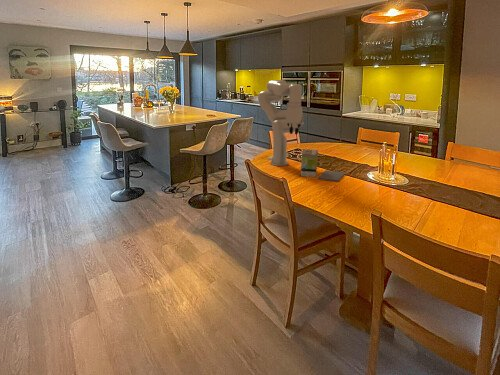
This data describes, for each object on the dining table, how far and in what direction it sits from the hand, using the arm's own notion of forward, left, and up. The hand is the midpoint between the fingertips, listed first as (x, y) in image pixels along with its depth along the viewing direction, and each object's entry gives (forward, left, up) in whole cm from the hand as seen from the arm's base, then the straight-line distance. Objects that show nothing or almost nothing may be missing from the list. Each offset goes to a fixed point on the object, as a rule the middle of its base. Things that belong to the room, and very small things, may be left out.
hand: (293, 133), depth 222 cm
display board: (+27, 0, -25) cm, 37 cm away
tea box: (+12, 0, -25) cm, 28 cm away
